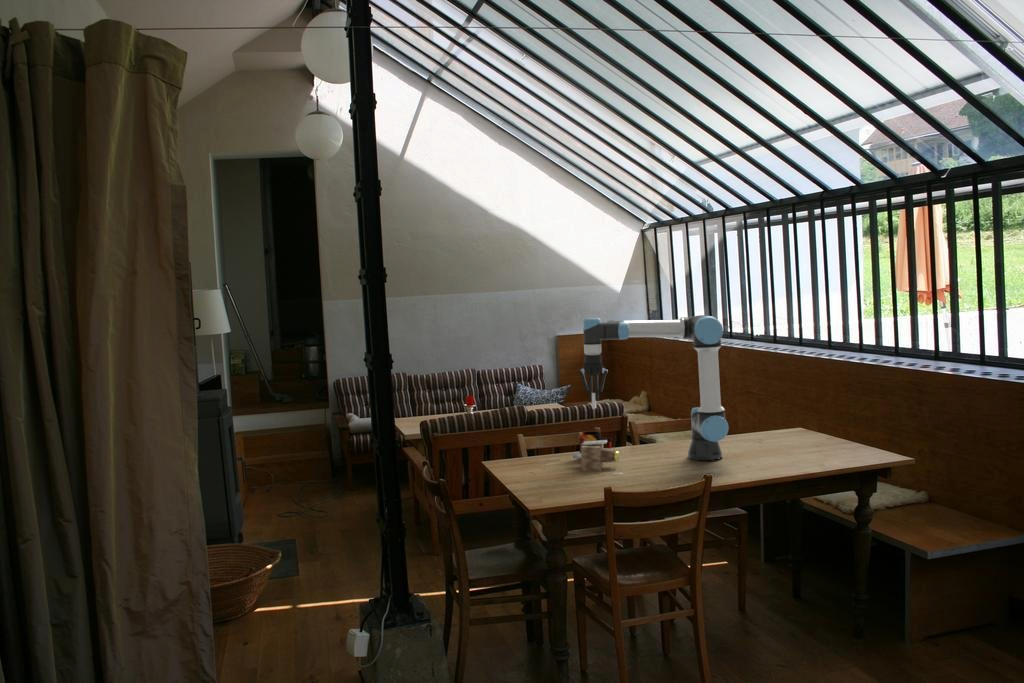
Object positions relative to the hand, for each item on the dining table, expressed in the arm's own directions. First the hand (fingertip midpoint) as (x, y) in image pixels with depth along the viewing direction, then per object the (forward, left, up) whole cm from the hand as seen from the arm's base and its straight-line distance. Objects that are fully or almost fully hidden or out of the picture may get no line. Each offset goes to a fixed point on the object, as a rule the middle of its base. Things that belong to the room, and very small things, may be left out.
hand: (594, 408), depth 364 cm
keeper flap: (0, 0, -16) cm, 15 cm away
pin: (0, 0, -23) cm, 23 cm away
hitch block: (-1, 0, -26) cm, 26 cm away
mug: (+3, -18, -26) cm, 32 cm away
